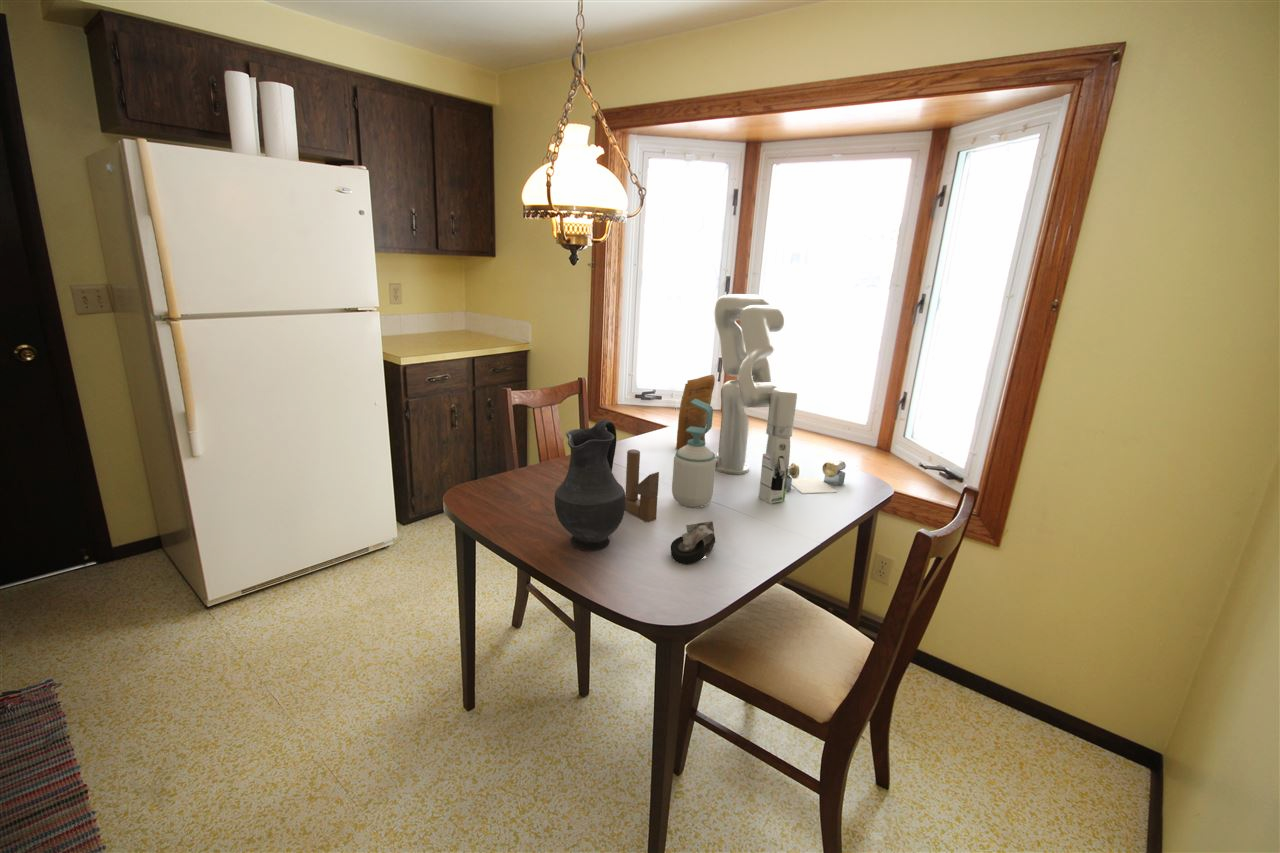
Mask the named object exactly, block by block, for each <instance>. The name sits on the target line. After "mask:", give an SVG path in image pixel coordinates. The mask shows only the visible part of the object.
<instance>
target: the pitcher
mask: <svg viewBox="0 0 1280 853" xmlns="http://www.w3.org/2000/svg"><path fill="white" fill-rule="evenodd" d="M565 436H566V437H567V445H568V447H569V448H570V456H569V457H570V459H569V463H568V464H569V465H568V470H567V472H566V473H567V474H566V476H565V477H564V480H563V481H562V483H561V484H560V485H559V486H558V487H557V488H556V489H555V491H554V492H555V493H554V509H555V510H554V511H555V514H556V517H557V520H558V521H559V523H560V524H561V526H562V527H563V528H564V529H565V530H566V531H567V532H568V533H570V534H571V535H572V537H571V539H570V545H571V546H572V547H573V548H575V549H577V550H579V551H580V550H581V551H584V552H585V551H587V552H588V551H589V552H591V551H598V550H602V549H604V548H606V547H608V546H609V545H610V542H611V541H610V540H611V539H610V538H609V537H610V536H611V535H612V534H613V533H614V532H615V531H616V530H617V529H618V528H619V526H620V525H621V523H622V521H623V518H624V515H625V513H626V511H625V504H626V498H625V495H626V490H625V489H624V487H623V485H621V483H619V482H618V480H617V478H616V477H615V475H614V473H613V465H614V459H615V455H616V447H617V429H616V426H615V424H614V422H613V421H611V420H609V419H608V420H607V419H600V420H598V421H597V422H596V423H595V424H594V425H593V426H592V427H590V428H589V427H588V428H576V429H571V430H568V431H567V432H565Z"/></svg>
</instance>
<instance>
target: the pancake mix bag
mask: <svg viewBox="0 0 1280 853" xmlns="http://www.w3.org/2000/svg"><path fill="white" fill-rule="evenodd" d="M715 380H716V379H715V375H714V374H710V375H709V374H708V375H704V376H701V377H698V378H694V379H689V380H687V383H685V384H684V389H683V392H682V397H681V402H680V405H679V412H678V422H677V431H676V434H677V435H676V445H675V450H679V449H680V448H682V447H684V446H686V445H687V443H688V440H690V439H693V436H692V435H691V433H688V432H686V429H688V428H689V427H691V426H693V427H700V428H706V421H707V413H706V411H704V410H703V409H701V408H699V407H696V406H694V405H692V404H691V401H692V400H694V399H698V400H700V401H702V402H705V403H707V404H709V405H710V406H711V405H712V397H713V392H714V388H715V382H716V381H715ZM700 440H703V441H705V442H706V434H704V435H703V436H702V437H700Z"/></svg>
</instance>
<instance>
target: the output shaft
mask: <svg viewBox="0 0 1280 853" xmlns="http://www.w3.org/2000/svg"><path fill="white" fill-rule="evenodd" d="M846 467H847V466H846V462H845V461H843V460H838V461H836V462H831V461H828V462H825V463H824V464H823V465H822V468H821V469H822V473H823V475H824V478H823V482H824V483H826V484H827V483H828V484H830V485H833V486H836V487H839V486H841V484H842V485H844V484H843V483H845V479H846V478H845V477H846V472H845V471H843V470H845V468H846Z"/></svg>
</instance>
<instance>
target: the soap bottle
mask: <svg viewBox="0 0 1280 853" xmlns="http://www.w3.org/2000/svg"><path fill="white" fill-rule="evenodd" d="M691 404H692V405H694V406H696V407H699V408H701V409H703V410H704V411H706V413H707V421H706V428H700V427H693V426H691V427H689V428H688V429H686V432H688V433H691V435H692V436H693V439H690V440H688V443H687V445H686V446H684V447H682V448H680V449H676V452H675V455H674V458H673V468H672V469H673V470H672V483H671V486H672V487H671V494H672V496H673V500H675V502H676V503H678V505H680V504H681V505H680V506H682V507H685V506H686V507H685V508H690V507H691V508H692V509H697V508H698V507H699V508H702V506H703V507H705V506H706V505H708V504H709V503H710V502H711V500H712V498H713V496H714V489H715V488H714V487H715V486H714V485H715V477H716V476H715V474H716V470H715V466H716V458H715V455H716V453H714V452H713V451H712V450H711V449H710V448H708V447H707V446H706V440H705V441H703V440H700V437H702V436H703V435H704V434H705V435H706V434H707V433H708V432H709V431H710V430H711V429H712V427H713V426H712V424H713V415H714V408H713V406H711V404H710V405H709V404H707V403H705V402H702V401H700V400H698V399H694V400H692V401H691ZM691 508H690V509H691ZM699 508H698V509H699Z"/></svg>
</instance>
